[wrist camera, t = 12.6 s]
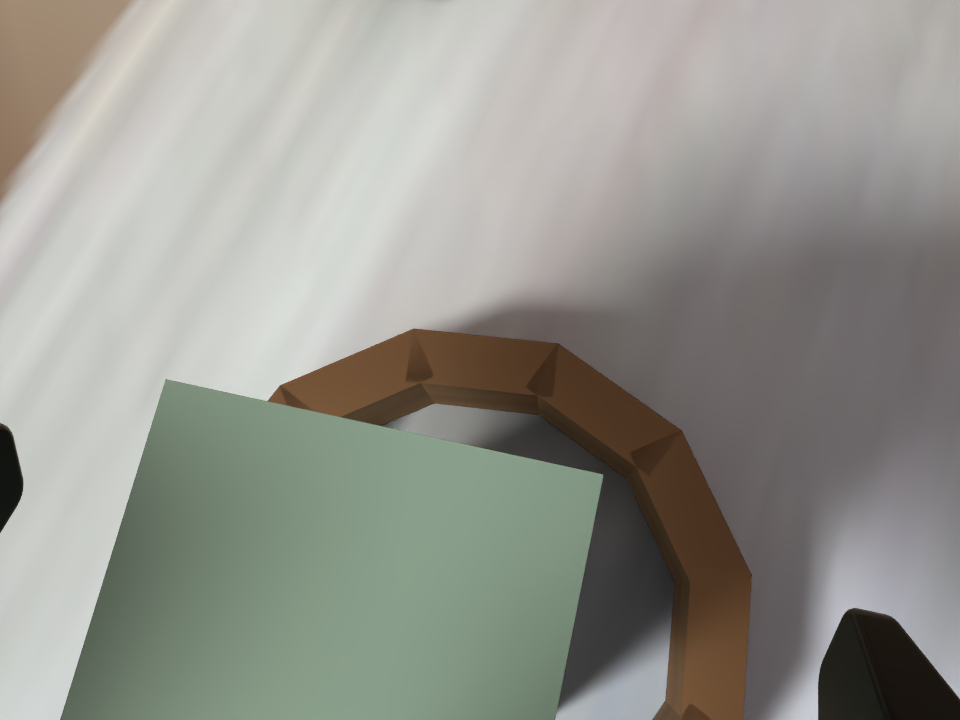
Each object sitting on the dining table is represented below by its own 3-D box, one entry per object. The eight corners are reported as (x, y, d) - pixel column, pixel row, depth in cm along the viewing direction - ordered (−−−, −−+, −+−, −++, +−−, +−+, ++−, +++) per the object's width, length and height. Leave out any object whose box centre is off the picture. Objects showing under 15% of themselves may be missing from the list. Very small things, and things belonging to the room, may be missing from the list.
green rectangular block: (532, 727, 17) (500, 993, 6) (348, 680, 17) (18, 852, 7) (571, 535, 18) (603, 475, 7) (393, 496, 18) (165, 379, 7)
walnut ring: (308, 993, 16) (275, 1051, 14) (143, 475, 18) (95, 463, 16) (821, 767, 16) (857, 793, 14) (590, 284, 19) (595, 251, 17)
